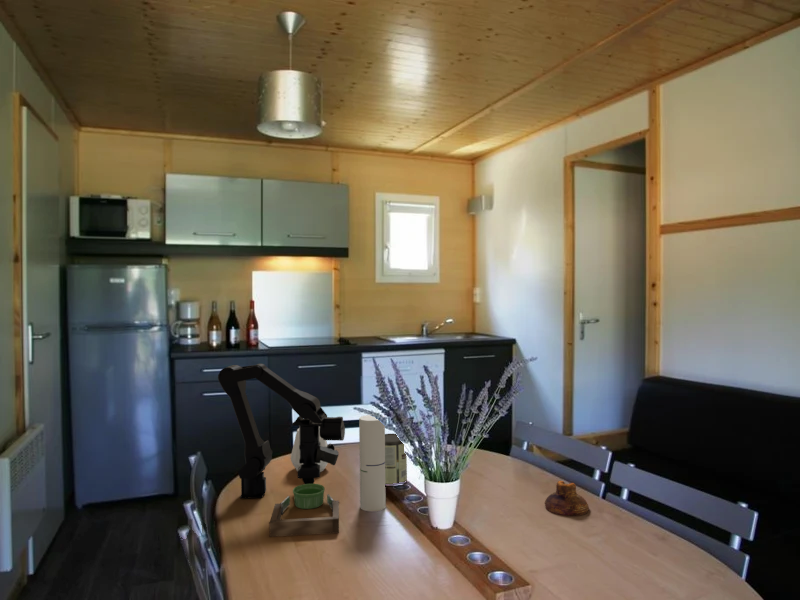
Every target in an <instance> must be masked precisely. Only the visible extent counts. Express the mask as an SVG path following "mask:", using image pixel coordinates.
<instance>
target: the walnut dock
mask: <svg viewBox="0 0 800 600" xmlns="http://www.w3.org/2000/svg"><path fill="white" fill-rule="evenodd" d="M281 503H282V502H280V503H274V506H273V510H272V513H271V516H270V520H269V521H268V522H269V523H268V524H269V537H270V538H271V537H274V538H275V537H285V536H286V537H289V536H306V535H308V536H309V535H324V534H325V535H326V534H339V533H340V506H339V505H340V504H339V503H340V500H335V501H333V512H332V516H324V517H321V516H320V517H308V518H307V517H304V518H302V517H301V518H289V519H288V518H287V519H286V518H285V519H281V518H282V515H281Z"/></svg>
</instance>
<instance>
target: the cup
mask: <svg viewBox="0 0 800 600" xmlns="http://www.w3.org/2000/svg"><path fill="white" fill-rule="evenodd" d="M327 441H328V440H324V439H323V438H321V437H320V426H319V442H320V446H322V447H325V446H326V447H327V446H328V445H329V444H328V443H327ZM293 442H294V443H293V445H292V446H293V447H292V450H291V455H290V461H291V464H292V465H293V467H294V468H295V471H296V472H298V468H299V466H300V465H303V463H299V460H300V449H299V445H300V432H299V428H297V429H296V433H295V438H294V441H293ZM317 464H318V465H320V473H322V472H323V471H324V470H325V469H326V467H327V465H328V464H329V463H327V462H324V461H320V463H317Z"/></svg>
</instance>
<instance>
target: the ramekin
mask: <svg viewBox="0 0 800 600" xmlns="http://www.w3.org/2000/svg"><path fill="white" fill-rule="evenodd" d="M325 491H326V489H325V486H324V485H323V484H319V483H314V484H304V483H303V484H299V485H296V486H295V487H293V489H292V493H293V499H294V500H293V501H294V506H295V507H296V508H298V509H302V510H311V509H317V508H319V507H321V506H323V504H324V497H325V496H324V495H325Z"/></svg>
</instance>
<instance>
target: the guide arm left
mask: <svg viewBox="0 0 800 600" xmlns="http://www.w3.org/2000/svg"><path fill="white" fill-rule="evenodd" d="M280 503H281V516H282V515H284V511H285V510H286V509H288V507H290V505H291V496H290V495H287V497H285V498H284V500H282V501H281V502H280Z"/></svg>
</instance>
